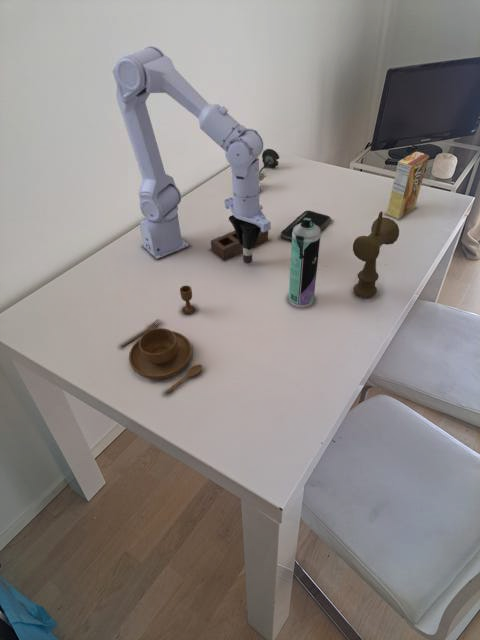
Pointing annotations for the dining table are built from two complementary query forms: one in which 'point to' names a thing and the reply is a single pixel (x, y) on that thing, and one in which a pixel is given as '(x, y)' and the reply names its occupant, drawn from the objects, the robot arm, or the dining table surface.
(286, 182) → the dining table surface
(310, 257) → the spray can
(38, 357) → the dining table surface
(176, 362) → the place setting
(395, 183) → the candy box
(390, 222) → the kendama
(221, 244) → the marker stand
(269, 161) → the artificial flower
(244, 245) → the black marker
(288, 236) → the phone
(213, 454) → the dining table surface
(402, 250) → the dining table surface
